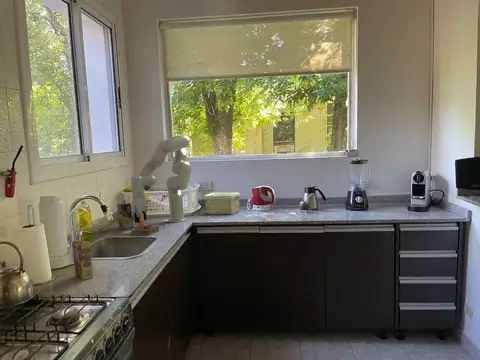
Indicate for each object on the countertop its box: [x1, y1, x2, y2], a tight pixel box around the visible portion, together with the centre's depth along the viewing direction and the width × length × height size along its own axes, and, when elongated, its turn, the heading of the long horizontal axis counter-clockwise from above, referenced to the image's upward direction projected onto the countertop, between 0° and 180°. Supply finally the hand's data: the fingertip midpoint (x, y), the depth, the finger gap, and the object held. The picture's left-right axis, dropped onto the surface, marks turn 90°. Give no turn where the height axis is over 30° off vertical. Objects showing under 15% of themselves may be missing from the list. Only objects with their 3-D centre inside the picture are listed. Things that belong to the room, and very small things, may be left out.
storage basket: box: [203, 191, 241, 215], centre depth 282 cm, size 24×16×15 cm
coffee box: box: [116, 202, 134, 229], centre depth 250 cm, size 9×6×16 cm
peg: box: [137, 212, 145, 228], centre depth 244 cm, size 4×4×10 cm
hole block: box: [130, 225, 160, 236], centre depth 231 cm, size 12×12×3 cm
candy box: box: [71, 239, 94, 281], centre depth 156 cm, size 9×4×15 cm, turn 47°
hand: (140, 221), depth 244 cm, fingers open, 7 cm apart
